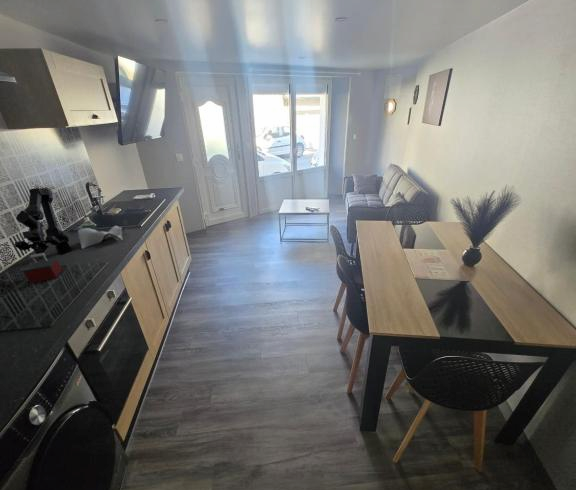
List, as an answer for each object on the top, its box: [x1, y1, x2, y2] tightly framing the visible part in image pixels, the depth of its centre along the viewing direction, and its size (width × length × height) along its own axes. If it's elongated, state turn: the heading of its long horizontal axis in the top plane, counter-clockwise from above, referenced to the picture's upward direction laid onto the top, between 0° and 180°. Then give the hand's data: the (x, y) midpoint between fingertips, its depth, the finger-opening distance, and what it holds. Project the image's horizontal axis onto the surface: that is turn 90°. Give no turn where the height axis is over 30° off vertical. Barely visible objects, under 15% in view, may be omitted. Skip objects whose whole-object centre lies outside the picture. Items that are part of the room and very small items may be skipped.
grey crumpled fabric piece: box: [77, 225, 126, 250], centre depth 197 cm, size 25×19×10 cm
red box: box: [23, 258, 63, 284], centre depth 159 cm, size 10×12×6 cm
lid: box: [22, 252, 58, 273], centre depth 156 cm, size 11×12×5 cm
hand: (39, 257), depth 158 cm, fingers closed
